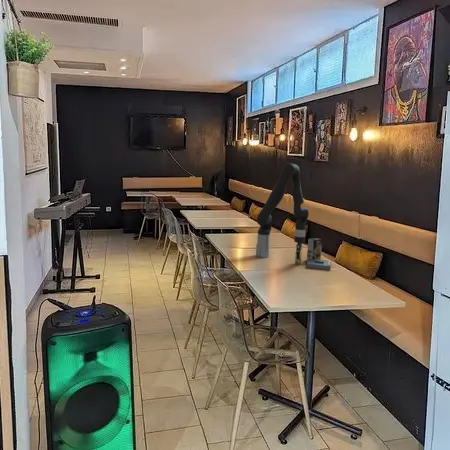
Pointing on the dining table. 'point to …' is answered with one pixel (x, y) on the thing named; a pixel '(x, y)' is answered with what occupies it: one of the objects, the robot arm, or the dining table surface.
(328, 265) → the plate
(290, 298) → the dining table surface
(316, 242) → the coffee box
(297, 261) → the translucent olive cylinder
